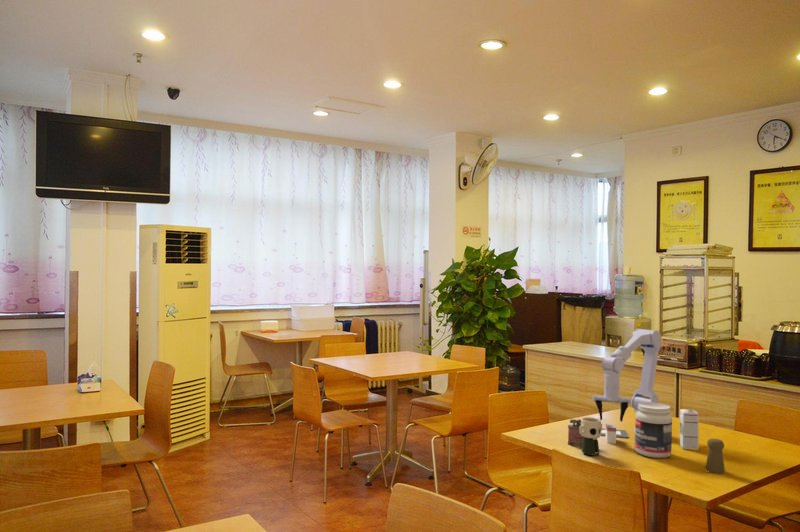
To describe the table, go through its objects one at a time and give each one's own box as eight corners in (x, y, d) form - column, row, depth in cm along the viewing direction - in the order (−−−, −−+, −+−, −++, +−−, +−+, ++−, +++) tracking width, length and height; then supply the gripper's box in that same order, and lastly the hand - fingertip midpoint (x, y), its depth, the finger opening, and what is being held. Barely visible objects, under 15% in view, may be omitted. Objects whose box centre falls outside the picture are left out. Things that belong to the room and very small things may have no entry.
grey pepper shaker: (701, 468, 210) (702, 436, 210) (717, 468, 210) (718, 436, 210) (712, 474, 204) (712, 441, 204) (728, 474, 204) (729, 441, 204)
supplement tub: (628, 452, 226) (629, 404, 226) (645, 446, 234) (646, 399, 234) (661, 461, 216) (662, 411, 216) (677, 455, 224) (678, 406, 224)
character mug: (586, 458, 218) (586, 423, 218) (572, 453, 224) (573, 418, 224) (608, 455, 222) (609, 420, 222) (594, 449, 229) (595, 415, 229)
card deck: (614, 439, 244) (614, 424, 244) (616, 443, 237) (616, 428, 237) (605, 438, 245) (605, 423, 245) (606, 443, 238) (607, 428, 238)
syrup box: (699, 450, 231) (699, 413, 231) (682, 449, 232) (683, 412, 232) (694, 446, 236) (695, 409, 236) (678, 445, 237) (679, 408, 237)
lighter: (587, 444, 236) (588, 418, 236) (589, 446, 233) (590, 421, 233) (566, 443, 237) (567, 417, 237) (568, 445, 234) (568, 420, 234)
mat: (625, 431, 256) (625, 430, 256) (628, 438, 246) (628, 437, 246) (588, 428, 260) (588, 427, 260) (590, 434, 249) (590, 433, 249)
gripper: (593, 387, 239) (592, 420, 239) (632, 389, 236) (631, 424, 236) (592, 383, 246) (591, 416, 246) (629, 386, 242) (629, 419, 242)
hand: (611, 420), depth 241 cm, fingers open, 7 cm apart
